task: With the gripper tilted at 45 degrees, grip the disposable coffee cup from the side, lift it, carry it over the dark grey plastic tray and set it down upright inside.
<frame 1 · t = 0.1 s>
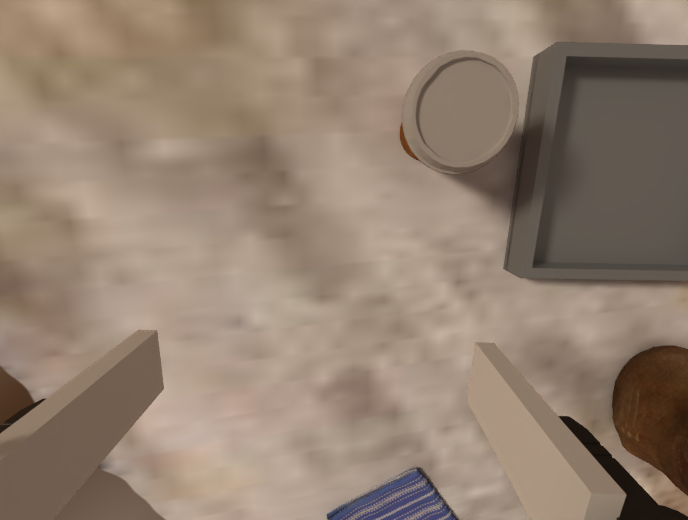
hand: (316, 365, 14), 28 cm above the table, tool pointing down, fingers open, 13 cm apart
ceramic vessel: (643, 406, 47), on the table
grey tray: (618, 172, 39), on the table
disposable coffee cup: (426, 132, 38), on the table
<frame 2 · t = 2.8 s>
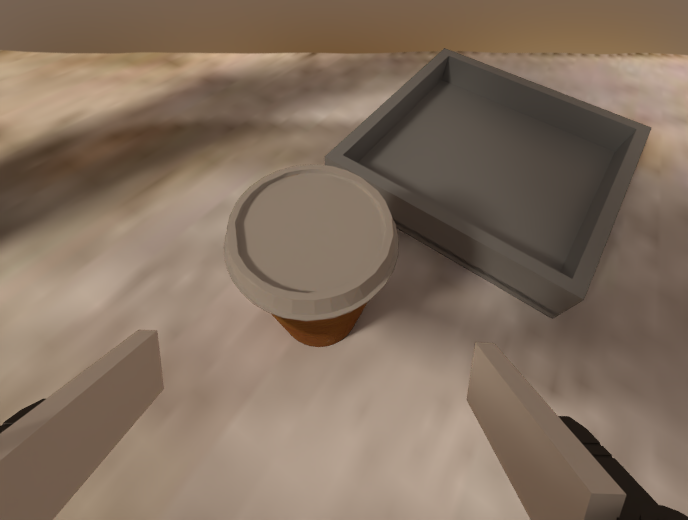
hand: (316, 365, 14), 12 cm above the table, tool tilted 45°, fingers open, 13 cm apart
grey tray: (480, 171, 36), on the table
disposable coffee cup: (320, 310, 28), on the table
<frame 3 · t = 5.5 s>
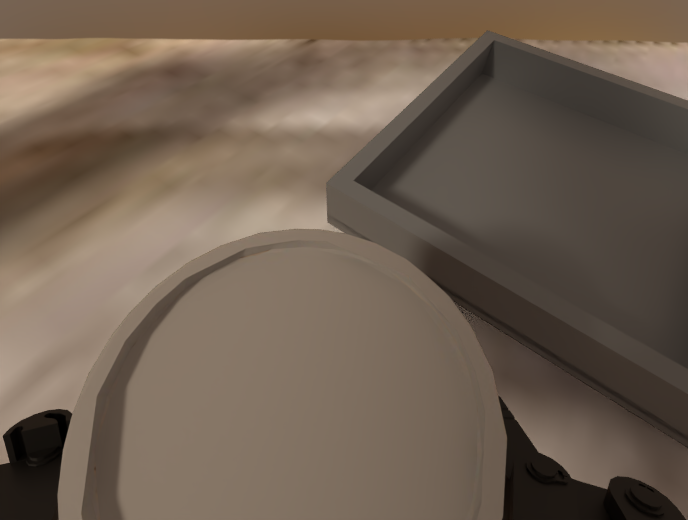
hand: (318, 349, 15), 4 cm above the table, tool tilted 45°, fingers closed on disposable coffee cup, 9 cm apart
grey tray: (545, 199, 25), on the table
disposable coffee cup: (319, 433, 17), on the table, touching gripper
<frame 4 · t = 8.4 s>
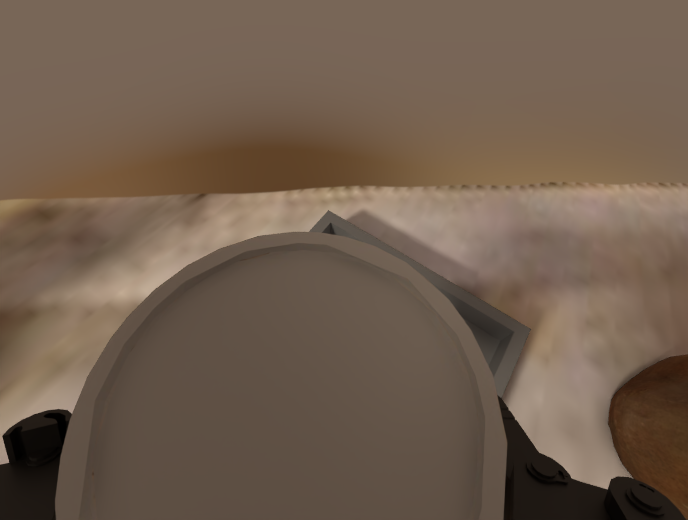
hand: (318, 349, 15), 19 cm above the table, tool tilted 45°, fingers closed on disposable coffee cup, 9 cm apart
grey tray: (354, 368, 33), on the table
disposable coffee cup: (319, 436, 17), point 15 cm above the table, touching gripper
when the fingers open (7 cm above the table, at t = 11.7 s): disposable coffee cup moves 3 cm, resting on grey tray.
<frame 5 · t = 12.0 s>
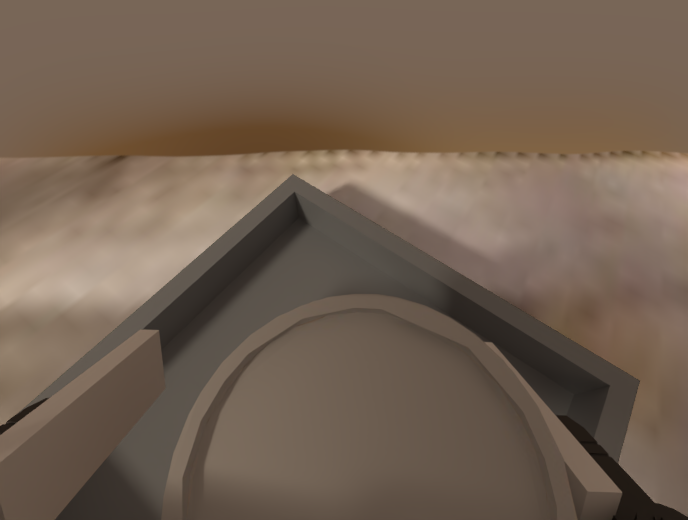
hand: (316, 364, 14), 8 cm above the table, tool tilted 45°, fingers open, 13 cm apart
grey tray: (319, 436, 19), on the table
disposable coffee cup: (369, 446, 18), point 1 cm above the table, touching grey tray, gripper
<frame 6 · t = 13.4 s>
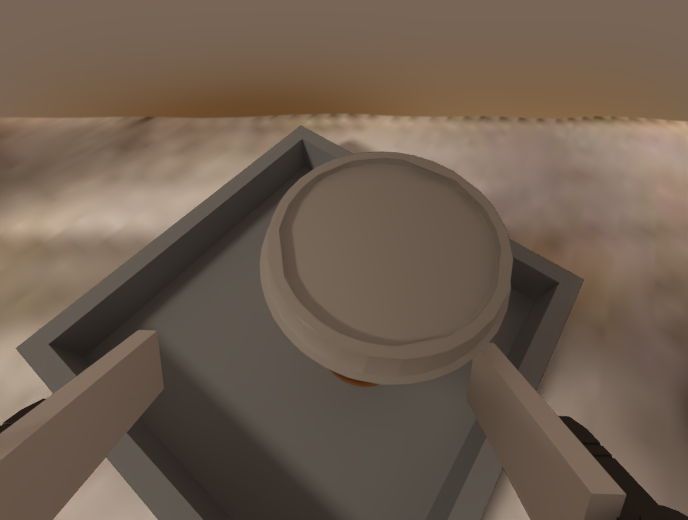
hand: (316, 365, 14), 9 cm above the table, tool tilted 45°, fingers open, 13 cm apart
grey tray: (323, 332, 23), on the table
disposable coffee cup: (363, 338, 22), point 1 cm above the table, touching grey tray
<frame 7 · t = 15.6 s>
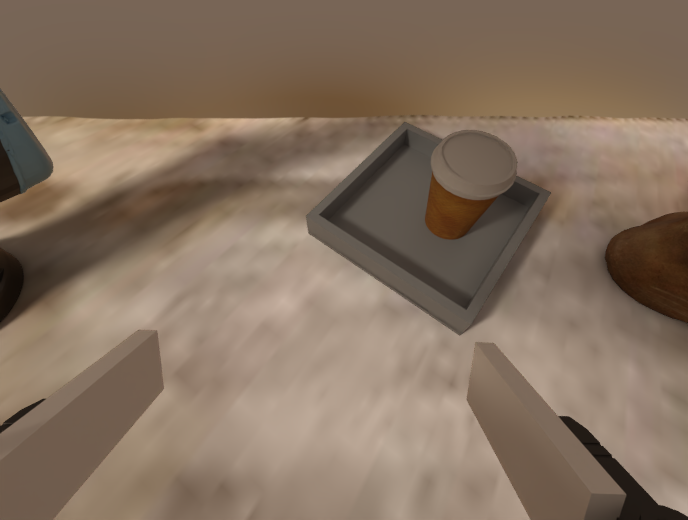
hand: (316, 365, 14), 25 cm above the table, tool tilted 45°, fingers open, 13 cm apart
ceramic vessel: (681, 292, 43), on the table
grey tray: (425, 221, 48), on the table
disposable coffee cup: (446, 222, 47), point 1 cm above the table, touching grey tray
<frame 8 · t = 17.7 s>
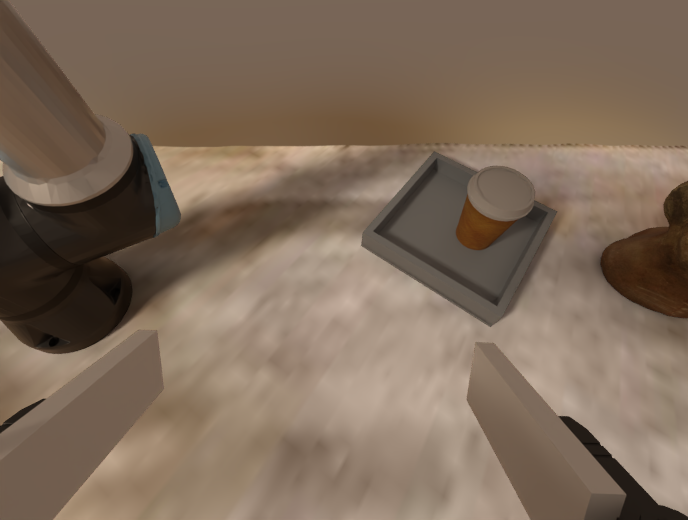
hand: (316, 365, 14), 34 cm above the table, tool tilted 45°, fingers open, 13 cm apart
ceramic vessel: (660, 290, 54), on the table
grey tray: (455, 235, 58), on the table
disposable coffee cup: (473, 235, 57), point 1 cm above the table, touching grey tray
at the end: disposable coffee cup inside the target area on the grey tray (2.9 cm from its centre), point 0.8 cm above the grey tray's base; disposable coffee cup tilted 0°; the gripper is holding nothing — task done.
